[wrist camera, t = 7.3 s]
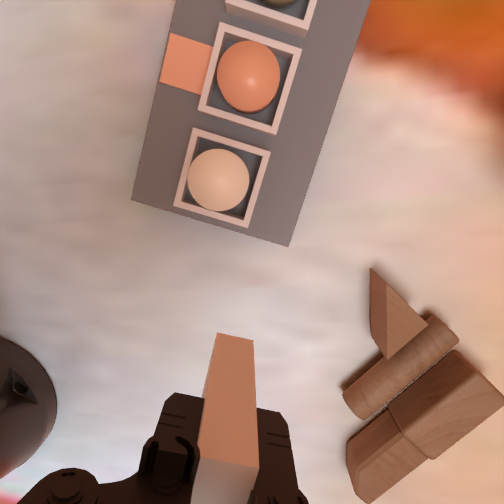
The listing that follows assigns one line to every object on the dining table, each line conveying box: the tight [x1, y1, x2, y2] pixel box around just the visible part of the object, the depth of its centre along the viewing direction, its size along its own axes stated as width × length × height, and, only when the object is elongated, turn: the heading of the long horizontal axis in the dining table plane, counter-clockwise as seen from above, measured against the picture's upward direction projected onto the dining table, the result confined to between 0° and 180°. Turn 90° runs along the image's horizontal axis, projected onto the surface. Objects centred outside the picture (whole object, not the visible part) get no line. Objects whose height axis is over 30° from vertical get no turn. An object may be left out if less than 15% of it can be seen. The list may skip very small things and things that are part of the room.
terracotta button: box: [217, 41, 280, 114], centre depth 27 cm, size 4×4×3 cm
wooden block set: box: [342, 268, 504, 504], centre depth 36 cm, size 17×6×18 cm
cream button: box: [187, 149, 249, 211], centre depth 28 cm, size 4×4×3 cm
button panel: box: [131, 0, 371, 247], centre depth 30 cm, size 14×23×5 cm, turn 163°
